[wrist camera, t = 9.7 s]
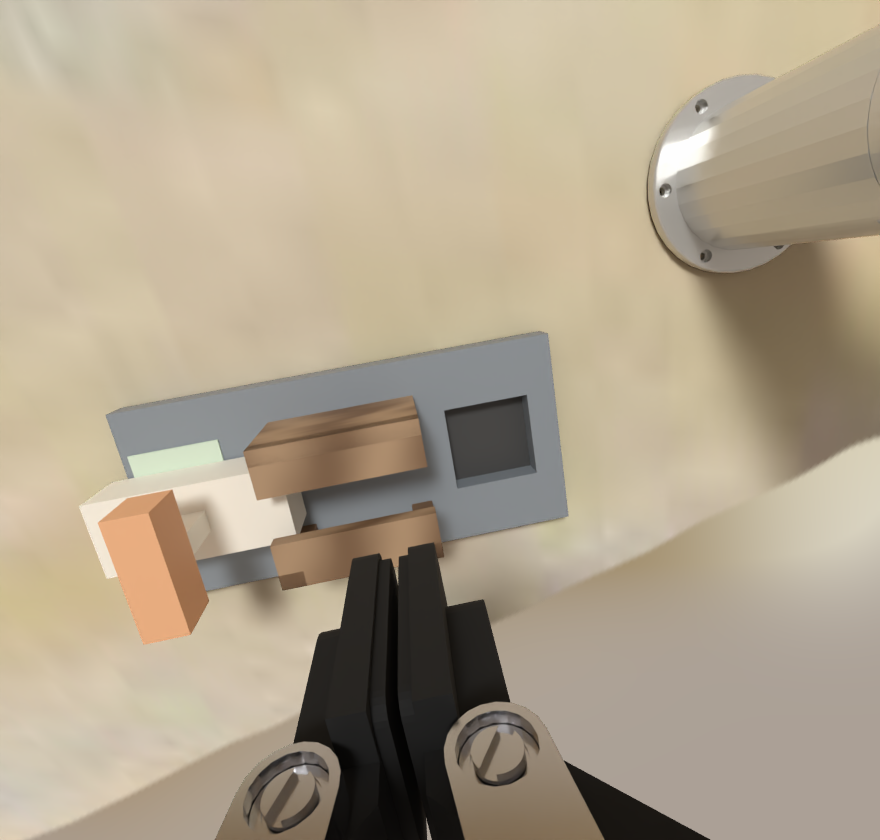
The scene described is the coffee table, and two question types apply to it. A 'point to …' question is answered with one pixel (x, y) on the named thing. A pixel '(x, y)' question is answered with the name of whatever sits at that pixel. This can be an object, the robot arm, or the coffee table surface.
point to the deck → (443, 480)
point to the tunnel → (336, 462)
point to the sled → (181, 536)
